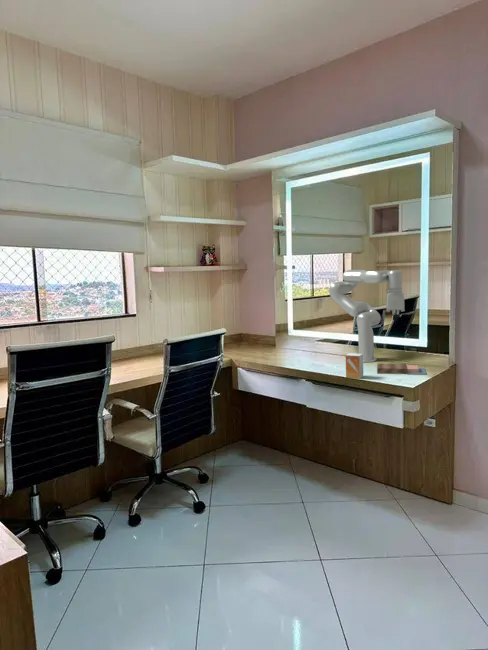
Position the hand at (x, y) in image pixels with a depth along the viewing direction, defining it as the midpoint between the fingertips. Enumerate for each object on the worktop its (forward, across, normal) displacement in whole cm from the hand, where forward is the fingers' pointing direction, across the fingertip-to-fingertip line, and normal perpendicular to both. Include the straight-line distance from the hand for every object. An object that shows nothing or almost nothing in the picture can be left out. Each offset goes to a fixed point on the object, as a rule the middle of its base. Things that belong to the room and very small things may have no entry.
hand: (395, 321), depth 264 cm
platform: (+27, -3, -16) cm, 32 cm away
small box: (+27, -23, -32) cm, 48 cm away
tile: (+26, +8, -16) cm, 32 cm away
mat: (+27, +10, -16) cm, 33 cm away
